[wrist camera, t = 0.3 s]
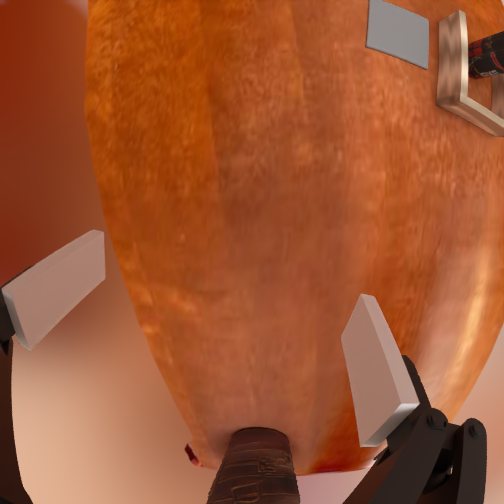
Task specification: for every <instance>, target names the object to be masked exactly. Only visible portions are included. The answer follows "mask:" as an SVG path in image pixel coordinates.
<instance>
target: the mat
mask: <svg viewBox="0 0 504 504" xmlns="http://www.w3.org/2000/svg"><path fill="white" fill-rule="evenodd" d="M366 47H367V48H370V49H373V50H376V51H379V52H382V53H385V54H388V55H391V56H394V57H396V58H399V59H401V60H404V61H406V62H409V63H411V64H414V65H416V66H418V67H421V68H423V69H425V70H427V69H428V52H429V20H428V19H426V18H424V17H422V16H419V15H417V14H415V13H413V12H410V11H408V10H406V9H403V8H401V7H398V6H396V5H393V4H390V3H388V2H385V1H382V0H369V12H368V26H367V38H366Z"/></svg>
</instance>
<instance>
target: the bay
mask: <svg viewBox="0 0 504 504" xmlns="http://www.w3.org/2000/svg"><path fill="white" fill-rule="evenodd" d="M467 90H468V40H467V26H466V16H465V13H464V12H462V11H461V10H457V11H456V12H454V13H452V14H451V15H449V16H448V17H446V18H445V19H443V20H442V21H440V22H439V69H438V85H437V97H436V105H437V106H439V107H442V108H444V109H446V110H448V111H450V112H452V113H454V114H456V115H458V116H460V117H461V118H463V119H465V120H467V121H469V122H471V123H472V124H474V125H476V126H478V127H479V128H481V129H483V130H485V131H486V132H488V133H490V134H491V135H493V136H498V137H504V74H500V75H494V76H492V108H491V111H490V110H488V109H486V108H485V107H483V106H482V105H480V104H478V103H477V102H475V101H473V100H472V99H470V98H468V97H467Z"/></svg>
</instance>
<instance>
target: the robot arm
mask: <svg viewBox="0 0 504 504" xmlns="http://www.w3.org/2000/svg"><path fill="white" fill-rule="evenodd" d="M105 278H106V277H105V256H104V232H102V231H98V230H94V229H93V230H91V231H89V232H87V233H86V234H84V235H82V236H80V237H79V238H77V239H75V240H74V241H72V242H71V243H69V244H67V245H65V246H64V247H62V248H61V249H59V250H57V251H56V252H54V253H53V254H51V255H50V256H48V257H46V258H45V259H43V260H42V261H40V262H39V263H37V264H35V265H33V266H30V267H28V268H27V269H25V270H24V271H23V272H22V273H20V274H18V275H17V277H14V278H13V279H11V280H10V281H8V282H7V283H6V284H4V285H3V286H1V287H0V504H33V502H32V501H31V499H30V497H29V495H28V494H27V492H26V491H25V489H24V487H23V484H22V481H21V476H20V471H19V466H18V461H17V455H16V448H15V440H14V431H13V419H12V399H11V373H12V354H13V340H12V336H13V335H14V334H15V333H16V336H17V338H18V341H19V344H21V345H22V346H24V347H25V348H27V349H28V350H30V351H31V350H32V349H33V348H34V347H35V345H37V344H38V343H39V342H40V341H41V339H42V338H43V337H44V336H45V335H46V334H47V333H48V332H49V331H50V330H51V329H52V328H53V327H54V326H55V325H56V324H57V323H58V322H59V321H60V320H61V319H62V318H63V317H64V316H65V315H66V314H67V313H68V312H70V311H71V310H72V308H74V307H75V306H76V305H77V304H78V303H79V302H80V301H81V300H82V299H83V298H84V297H85V296H86V295H87V294H89V293H90V292H91V291H92V290H93V289H94V288H95V287H96V286H97V285H98V284H100V282H102V281H103V280H104V279H105ZM341 341H342V345H343V350H344V355H345V360H346V365H347V370H348V375H349V380H350V385H351V391H352V396H353V402H354V408H355V414H356V420H357V427H358V433H359V440H360V447H372V446H379V445H380V444H381V443H382V442H383V441H384V440H385V439H387V444H388V446H387V447H386V448H385V449H384V450H383V451H382V452H381V453H379V454H378V455H377V456H376V457H375V458H374V459H373V460H376V459H377V458H378V459H377V460H376V462H375V463H374V465H373V466H372V467H371V469H370V470H369V471H368V473H367V474H366V475H365V477H364V478H363V479H362V481H361V482H360V483H359V484H358V486H357V487H356V488H355V489H354V491H353V492H352V493H351V494H350V495H349V497H348V498H347V499H346V500H345V501H344V502H343V504H483V502H484V494H485V483H486V466H487V465H486V464H487V438H486V437H487V435H486V430H485V427H484V426H483V424H482V423H481V422H480V421H478V420H477V419H475V418H470V419H467V420H466V421H465V422H464V423H463V424H462V425H461V426H459V425H455V424H451V423H448V419H447V418H446V416H445V415H444V414H443V413H442V412H441V411H440V410H438V409H435V408H431V405H430V402H429V400H428V397H427V394H426V392H425V389H424V387H423V384H422V382H421V380H420V377H419V375H417V374H418V372H417V370H416V368H415V365H414V364H413V362H412V361H411V360H410V359H409V358H408V357H407V356H406V355H401V354H400V352H399V349H398V347H397V344H396V342H395V340H394V338H393V335H392V333H391V331H390V329H389V326H388V324H387V322H386V320H385V318H384V315H383V313H382V311H381V309H380V307H379V305H378V303H377V301H376V299H375V297H374V296H370V295H366V294H360V296H359V299H358V301H357V303H356V306H355V308H354V310H353V312H352V314H351V317H350V319H349V321H348V323H347V325H346V327H345V329H344V331H343V333H342V336H341ZM452 467H453V469H452V474H451V468H452Z"/></svg>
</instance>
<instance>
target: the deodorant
mask: <svg viewBox="0 0 504 504" xmlns="http://www.w3.org/2000/svg"><path fill="white" fill-rule="evenodd" d="M500 74H504V31H503V32H500V33H497V34H494V35H491V36H488V37H486V38H483V39H481V40H478V41H475V42H473V43H470V44H468V76H469V77H471V78H473V79H479V78H484V77H489V76H494V75H500Z"/></svg>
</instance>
